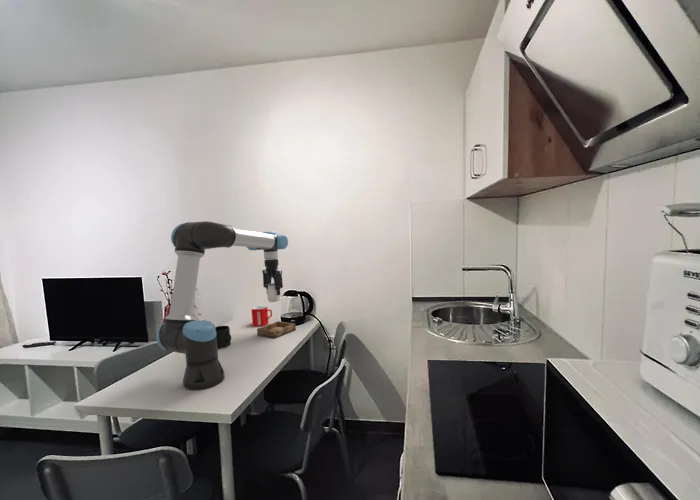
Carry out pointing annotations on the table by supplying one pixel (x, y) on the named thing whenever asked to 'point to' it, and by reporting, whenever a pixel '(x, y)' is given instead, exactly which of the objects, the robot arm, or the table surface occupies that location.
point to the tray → (276, 329)
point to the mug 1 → (223, 336)
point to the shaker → (271, 292)
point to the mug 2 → (260, 315)
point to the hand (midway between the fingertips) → (273, 300)
